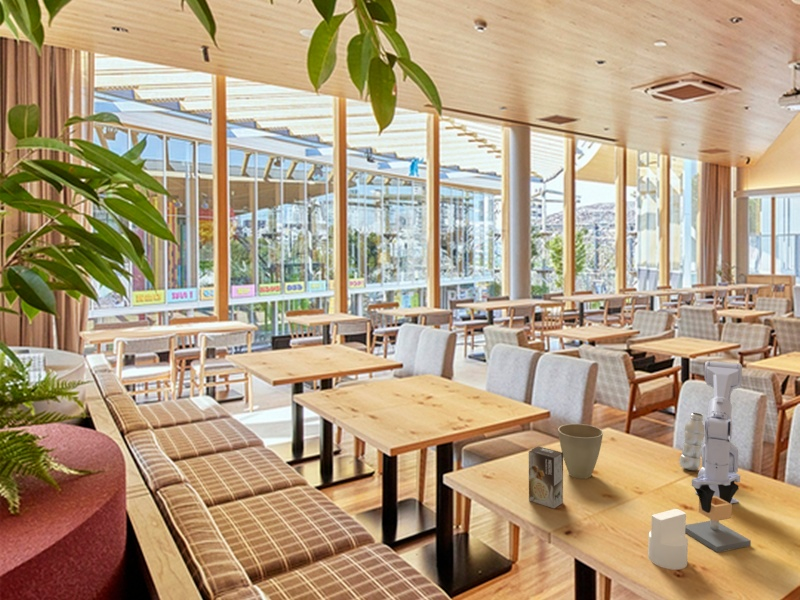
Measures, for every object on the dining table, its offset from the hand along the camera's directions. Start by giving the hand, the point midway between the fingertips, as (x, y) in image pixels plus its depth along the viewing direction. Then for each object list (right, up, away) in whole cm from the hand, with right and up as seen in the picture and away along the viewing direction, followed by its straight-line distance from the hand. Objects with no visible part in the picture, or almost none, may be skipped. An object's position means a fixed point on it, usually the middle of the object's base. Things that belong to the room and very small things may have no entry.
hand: (714, 509), depth 158 cm
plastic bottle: (+16, -2, +46) cm, 48 cm away
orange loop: (0, -2, 0) cm, 2 cm away
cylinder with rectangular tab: (-19, -9, -12) cm, 24 cm away
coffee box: (-41, -6, +22) cm, 47 cm away
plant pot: (-24, -4, +43) cm, 49 cm away
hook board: (-1, -7, -2) cm, 7 cm away
